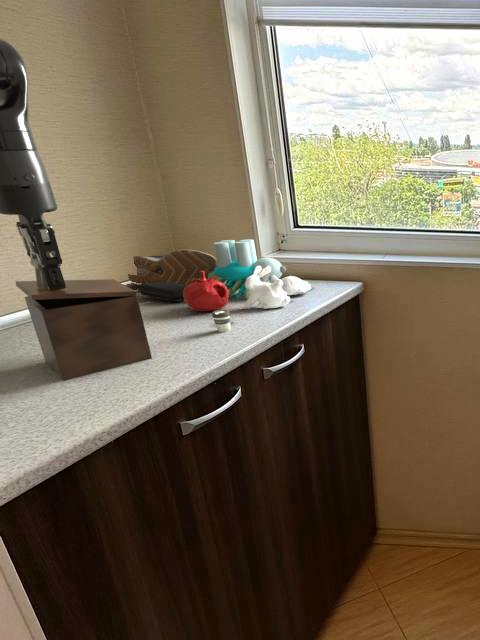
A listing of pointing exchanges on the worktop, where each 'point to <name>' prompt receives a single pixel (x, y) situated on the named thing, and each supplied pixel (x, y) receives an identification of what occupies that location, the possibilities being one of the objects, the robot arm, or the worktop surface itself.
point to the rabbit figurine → (265, 291)
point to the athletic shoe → (173, 267)
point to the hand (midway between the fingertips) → (54, 286)
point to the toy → (241, 265)
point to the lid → (71, 287)
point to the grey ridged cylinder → (222, 320)
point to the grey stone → (294, 285)
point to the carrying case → (163, 290)
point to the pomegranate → (206, 294)
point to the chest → (89, 333)
